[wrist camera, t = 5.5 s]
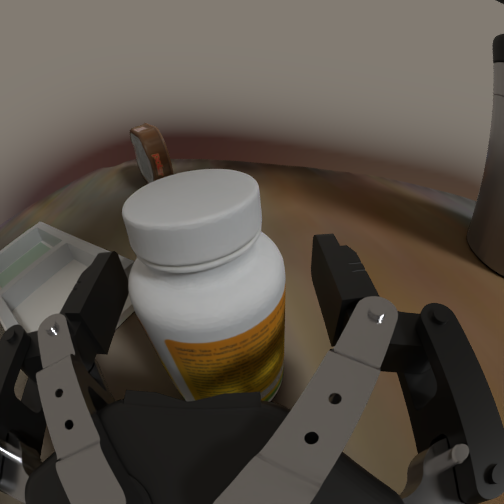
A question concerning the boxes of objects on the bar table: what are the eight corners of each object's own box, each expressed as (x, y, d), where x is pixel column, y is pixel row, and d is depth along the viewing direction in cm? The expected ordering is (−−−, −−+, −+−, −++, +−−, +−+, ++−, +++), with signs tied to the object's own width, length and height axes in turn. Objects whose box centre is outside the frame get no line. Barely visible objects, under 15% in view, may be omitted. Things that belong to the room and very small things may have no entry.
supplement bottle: (302, 358, 14) (316, 173, 8) (243, 441, 10) (191, 274, 5) (220, 320, 16) (189, 156, 11) (158, 384, 13) (70, 216, 7)
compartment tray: (47, 235, 28) (41, 218, 26) (158, 287, 19) (149, 260, 18) (-16, 285, 20) (-26, 268, 18) (50, 397, 11) (26, 374, 10)
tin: (179, 194, 33) (168, 126, 28) (155, 201, 32) (141, 133, 27) (153, 168, 44) (145, 120, 39) (136, 173, 43) (126, 125, 38)
